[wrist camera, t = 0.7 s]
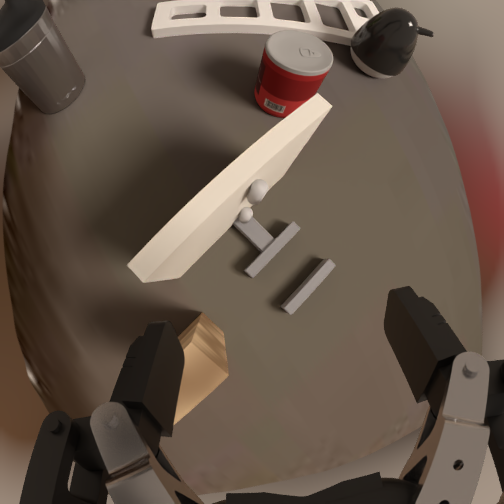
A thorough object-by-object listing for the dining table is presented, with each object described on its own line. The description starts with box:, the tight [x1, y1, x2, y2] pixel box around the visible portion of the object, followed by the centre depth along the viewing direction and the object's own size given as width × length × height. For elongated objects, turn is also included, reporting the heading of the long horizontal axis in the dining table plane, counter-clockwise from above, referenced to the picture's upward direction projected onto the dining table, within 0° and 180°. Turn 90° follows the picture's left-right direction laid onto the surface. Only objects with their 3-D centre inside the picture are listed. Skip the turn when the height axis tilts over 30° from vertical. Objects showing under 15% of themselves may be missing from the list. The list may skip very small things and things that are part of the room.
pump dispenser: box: [351, 8, 434, 78], centre depth 32 cm, size 10×10×15 cm
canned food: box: [254, 30, 333, 118], centre depth 31 cm, size 8×8×11 cm
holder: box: [151, 0, 379, 46], centre depth 38 cm, size 45×18×3 cm, turn 94°
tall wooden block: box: [174, 312, 229, 424], centre depth 25 cm, size 4×6×15 cm, turn 136°
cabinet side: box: [127, 93, 336, 315], centre depth 26 cm, size 14×18×17 cm
